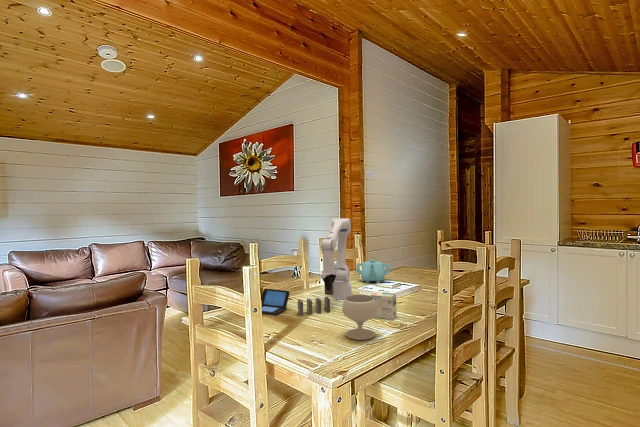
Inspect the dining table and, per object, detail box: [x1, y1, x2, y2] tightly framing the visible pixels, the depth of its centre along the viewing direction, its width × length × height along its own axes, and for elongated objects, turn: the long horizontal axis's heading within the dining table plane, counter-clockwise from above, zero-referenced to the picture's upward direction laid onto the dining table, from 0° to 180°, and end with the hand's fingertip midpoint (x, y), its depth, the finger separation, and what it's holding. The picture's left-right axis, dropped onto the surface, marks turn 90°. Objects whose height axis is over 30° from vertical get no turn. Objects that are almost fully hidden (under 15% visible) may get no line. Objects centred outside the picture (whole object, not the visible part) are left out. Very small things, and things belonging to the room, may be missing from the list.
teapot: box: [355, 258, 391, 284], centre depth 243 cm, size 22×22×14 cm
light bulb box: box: [370, 290, 397, 320], centre depth 174 cm, size 11×7×11 cm, turn 65°
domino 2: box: [306, 298, 313, 316], centre depth 181 cm, size 2×4×6 cm, turn 16°
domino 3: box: [315, 297, 323, 315], centre depth 183 cm, size 2×4×6 cm, turn 16°
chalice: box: [341, 294, 377, 341], centre depth 151 cm, size 14×14×15 cm
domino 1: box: [297, 299, 304, 317], centre depth 180 cm, size 2×4×6 cm, turn 16°
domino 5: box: [323, 296, 331, 313], centre depth 184 cm, size 2×4×6 cm, turn 16°
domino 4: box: [323, 282, 334, 296], centre depth 190 cm, size 2×4×6 cm, turn 62°
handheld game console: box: [260, 288, 290, 317], centre depth 188 cm, size 16×13×9 cm
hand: (329, 289), depth 190 cm, fingers closed on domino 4, 1 cm apart
